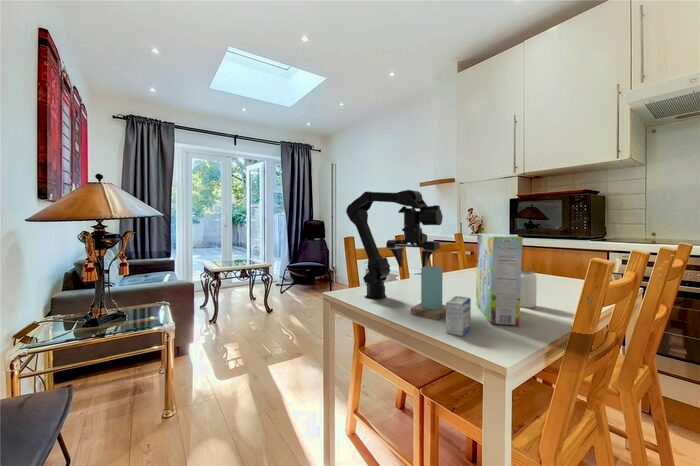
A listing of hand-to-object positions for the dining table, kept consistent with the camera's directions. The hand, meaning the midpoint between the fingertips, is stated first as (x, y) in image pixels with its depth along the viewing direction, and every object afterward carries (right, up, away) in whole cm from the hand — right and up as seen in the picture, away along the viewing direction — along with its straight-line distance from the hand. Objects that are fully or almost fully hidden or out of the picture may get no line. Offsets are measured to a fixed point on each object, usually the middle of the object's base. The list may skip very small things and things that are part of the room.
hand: (412, 268), depth 108 cm
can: (+39, -13, -3) cm, 41 cm away
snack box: (+24, -14, -12) cm, 31 cm away
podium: (+4, -13, -10) cm, 17 cm away
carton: (+4, -11, -10) cm, 16 cm away
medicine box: (+7, -14, -26) cm, 30 cm away
